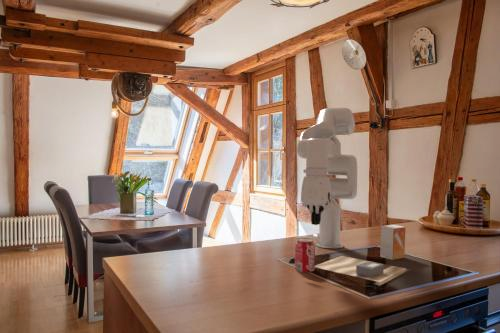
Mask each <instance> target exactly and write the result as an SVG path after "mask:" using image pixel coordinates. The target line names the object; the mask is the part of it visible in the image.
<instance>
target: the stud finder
mask: <svg viewBox="0 0 500 333" xmlns="http://www.w3.org/2000/svg"><path fill="white" fill-rule="evenodd" d="M367 261H368V262H365V263H362V264H359V265H356V274H358V275H362V276H366V277H370V278H373V277H375V276H378V275H380V274H383V269H384V265H383V264H384V263H381V264H378V263H379V262H376V263H373V262H374V261H371V262H369V261H370V260H367Z"/></svg>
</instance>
